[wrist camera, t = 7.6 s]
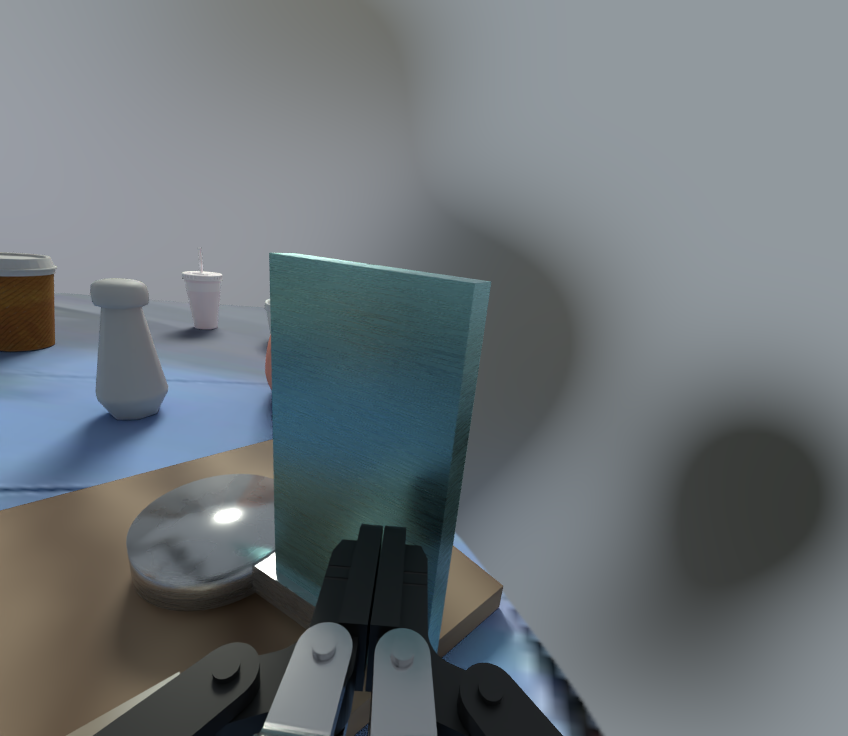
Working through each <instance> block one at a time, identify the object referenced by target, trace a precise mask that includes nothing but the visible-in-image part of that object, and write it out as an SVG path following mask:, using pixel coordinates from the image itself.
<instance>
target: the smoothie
mask: <svg viewBox="0 0 848 736" xmlns="http://www.w3.org/2000/svg"><path fill="white" fill-rule="evenodd" d="M198 254H199V269H200V271H189V272H183V273H182V279H184V280H185V285H186V289H187V294H188V298H189V303H190V308H191V312H192V317H193V321H194V326H195V328H197V329H214V328H217V326H218V313H219V300H220V288H221V281H222V280H223V278H222V274H220V273H214V272H203V261H202V248H198Z"/></svg>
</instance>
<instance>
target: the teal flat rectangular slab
mask: <svg viewBox="0 0 848 736" xmlns="http://www.w3.org/2000/svg"><path fill="white" fill-rule="evenodd" d="M269 258H270V259H269V260H270V261H269V262H270V314H271V367H272V419H273V471H274V479H271V478H268V477H264V476H260V475H252V474H228V475H219V476H213V477H209V478H204V479H200V480H197V481H194V482H191V483H188V484H185V485H183V486H180V487H178V488H175V489H173V490H171V491H169V492H167V493H166V494H164V495H162V496H161V497H159V498H157V499H156V500H155V501H153V502H152V503H150V504H149V505H148V506H147V507H146V508H145V509H143V510H142V511H141V513H140V514H139V515H138V516H137V517H136V518H135V520H134V521H133V523H132V524H131V526H130V528H129V530H128V534H127V538H126V546H127V552H128V559H129V565H130V571H131V578H132V582H133V586H134V588H135V590H136V592H137V593H138V594H139V595H140V596H141V597H142V598H143V599H144V600H146V601H147V602H148V603H150V604H153V605H155V606H157V607H160V608H164V609H167V610H174V611H200V610H207V609H213V608H217V607H221V606H225V605H228V604H231V603H234V602H236V601H239V600H241V599H243V598H246V597H248V596H250V595H252V594H254V593H255V592H256V593H257V594H258V595H260V596H261V597H262V598H264V599H265V600H267V601H268V602H269V603H271V604H272V605H273V606H275V607H276V608H278V609H279V610H280V611H282V612H283V613H284V614H286V615H287V616H289V617H290V618H291V619H293V620H294V621H295V622H297V623H298V624H300V625H301V626H302V627H304V628H305V629H306V630H307V629H308V628H309V626H310V623H311V620H312V617H313V614H314V610H315V607H316V604H317V600H318V597H319V594H320V590H321V587H322V584H323V580H324V578H325V574H326V570H327V567H328V564H329V561H330V557H331V554H332V551H333V550H334V548H335V547H336V546H337V545H338V544H339V543H340V542H341V540H342V539H346V540H357V539H358V534H359V530H360V526H361V524H371V525H382V526H383V535H384V528H385V526H395V527H406V543H405V544H406V545H418V546H422V548H423V550H424V552H425V554H426V556H427V558H428V637H429V641H430V643H431V646H432V647H433V649H434V650H435V652H436V653H437V651H438V645H439V638H440V631H441V624H442V617H443V610H444V603H445V596H446V589H447V583H448V576H449V569H450V562H451V555H452V548H453V541H454V534H455V527H456V521H457V514H458V507H459V500H460V493H461V486H462V479H463V471H464V465H465V458H466V452H467V445H468V438H469V431H470V424H471V417H472V410H473V403H474V396H475V390H476V383H477V375H478V369H479V362H480V355H481V348H482V342H483V335H484V327H485V321H486V314H487V306H488V299H489V293H490V286H491V282H490V281H483V280H475V279H469V278H462V277H455V276H448V275H441V274H434V273H427V272H421V271H414V270H406V269H400V268H393V267H385V266H379V265H372V264H365V263H358V262H351V261H344V260H337V259H330V258H323V257H316V256H309V255H302V254H294V253H269ZM383 535H382V542H383ZM381 548H382V547H381ZM367 662H368V657H367Z"/></svg>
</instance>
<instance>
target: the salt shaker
mask: <svg viewBox="0 0 848 736" xmlns="http://www.w3.org/2000/svg"><path fill="white" fill-rule="evenodd" d="M90 293H91V298H92V302H93V304H94V305H95V306H99V307H101V316H100V331H99V347H98V362H97V377H96V396H97V399H98V401H99V402H100V403H101V404H102V405H103V406H104V407H105V408H106V409H107V410H108V412H109V413H110V414H111V415H112V416H113V417H114V418H115V419H116V420H131V419H141V418H144V417H147V416H150V415H153V414H156V413H157V412H158V409H159V407H160V405H161V403H162V401H163V399H164V397H165V396H166V394H167V392H168V385H167V382H166V379H165V376H164V373H163V370H162V367H161V364H160V361H159V358H158V355H157V352H156V349H155V346H154V343H153V340H152V337H151V334H150V331H149V328H148V325H147V322H146V318H145V315H144V312H143V309H142V307H143V306H145V305H148V303H149V293H148V290H147V287H146V285H144V284H143V283H142V282H140V281H136V280H132V279H119V278H118V279H117V278H111V279H102V280H98V281H95V282H93V283H92V284H91V289H90Z"/></svg>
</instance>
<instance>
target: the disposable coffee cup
mask: <svg viewBox="0 0 848 736" xmlns="http://www.w3.org/2000/svg"><path fill="white" fill-rule="evenodd" d="M55 269H57V266H54V264H53V262H52V260H51V258H50V257H49V256H44V255H36V254H23V253H3V252H0V351H30V350H37V349H42V348H47V347H50V346H52V345H54V344H55V319H54V274H55Z"/></svg>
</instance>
